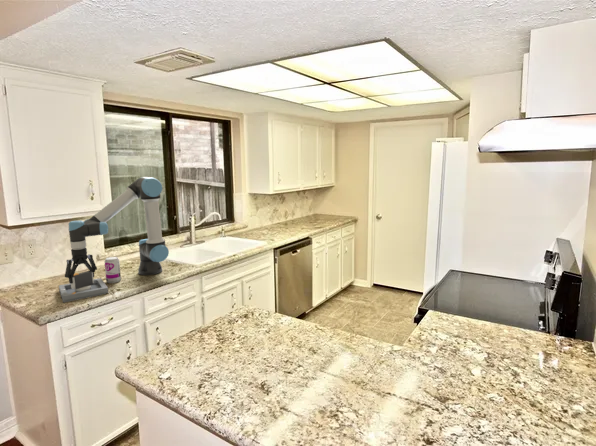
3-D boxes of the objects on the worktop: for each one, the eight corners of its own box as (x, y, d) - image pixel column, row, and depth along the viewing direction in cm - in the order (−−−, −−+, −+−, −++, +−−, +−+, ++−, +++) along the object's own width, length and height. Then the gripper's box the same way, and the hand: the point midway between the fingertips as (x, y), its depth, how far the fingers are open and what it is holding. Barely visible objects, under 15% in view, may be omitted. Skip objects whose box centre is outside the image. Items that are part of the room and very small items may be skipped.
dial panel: (101, 283, 227) (100, 277, 226) (108, 293, 209) (107, 287, 209) (59, 291, 213) (58, 285, 213) (63, 302, 196) (62, 295, 196)
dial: (88, 286, 217) (86, 269, 216) (95, 288, 213) (94, 271, 211) (70, 291, 209) (68, 273, 207) (77, 293, 205) (76, 275, 203)
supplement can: (115, 283, 226) (113, 260, 223) (103, 282, 228) (101, 259, 225) (123, 279, 234) (121, 256, 231) (112, 278, 235) (110, 256, 233)
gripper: (93, 243, 219) (97, 278, 222) (53, 251, 199) (58, 290, 202) (101, 244, 215) (105, 280, 219) (62, 253, 195) (66, 292, 199)
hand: (82, 285), depth 211 cm, fingers closed on dial, 10 cm apart
